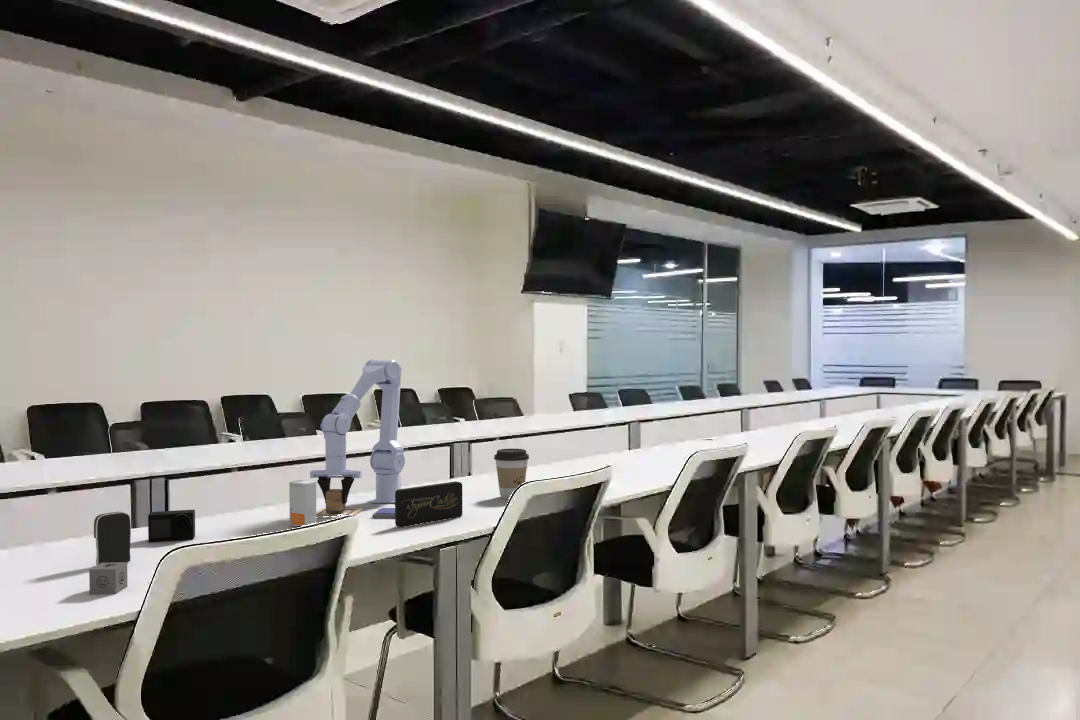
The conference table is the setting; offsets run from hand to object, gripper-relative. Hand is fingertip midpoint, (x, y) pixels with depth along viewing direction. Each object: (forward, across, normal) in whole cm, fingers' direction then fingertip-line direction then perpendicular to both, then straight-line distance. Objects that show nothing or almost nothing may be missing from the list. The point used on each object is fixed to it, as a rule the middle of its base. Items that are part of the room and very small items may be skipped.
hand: (336, 502), depth 236 cm
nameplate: (+3, +29, -9) cm, 31 cm away
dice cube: (+4, -22, -75) cm, 79 cm away
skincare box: (+3, -4, -16) cm, 17 cm away
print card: (+3, 0, 0) cm, 3 cm away
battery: (+3, -33, -56) cm, 65 cm away
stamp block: (+2, 0, 0) cm, 2 cm away
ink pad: (+3, +16, -1) cm, 17 cm away
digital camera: (+3, -31, -33) cm, 46 cm away
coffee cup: (+3, +48, +28) cm, 56 cm away
